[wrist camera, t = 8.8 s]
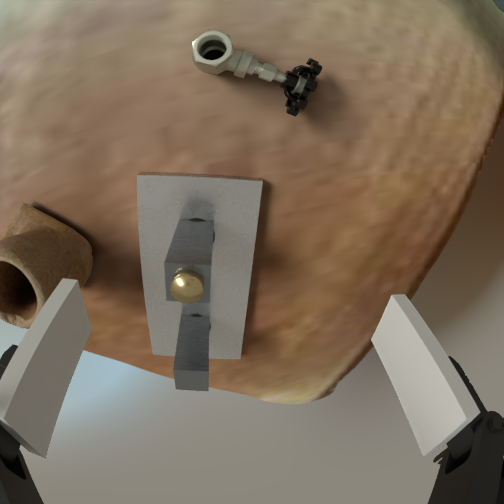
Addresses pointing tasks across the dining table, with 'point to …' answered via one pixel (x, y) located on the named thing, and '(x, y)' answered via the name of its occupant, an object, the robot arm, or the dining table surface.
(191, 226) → the block
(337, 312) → the dining table surface
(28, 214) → the stone cup
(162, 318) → the grey base with knobs
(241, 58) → the valve
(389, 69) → the dining table surface
